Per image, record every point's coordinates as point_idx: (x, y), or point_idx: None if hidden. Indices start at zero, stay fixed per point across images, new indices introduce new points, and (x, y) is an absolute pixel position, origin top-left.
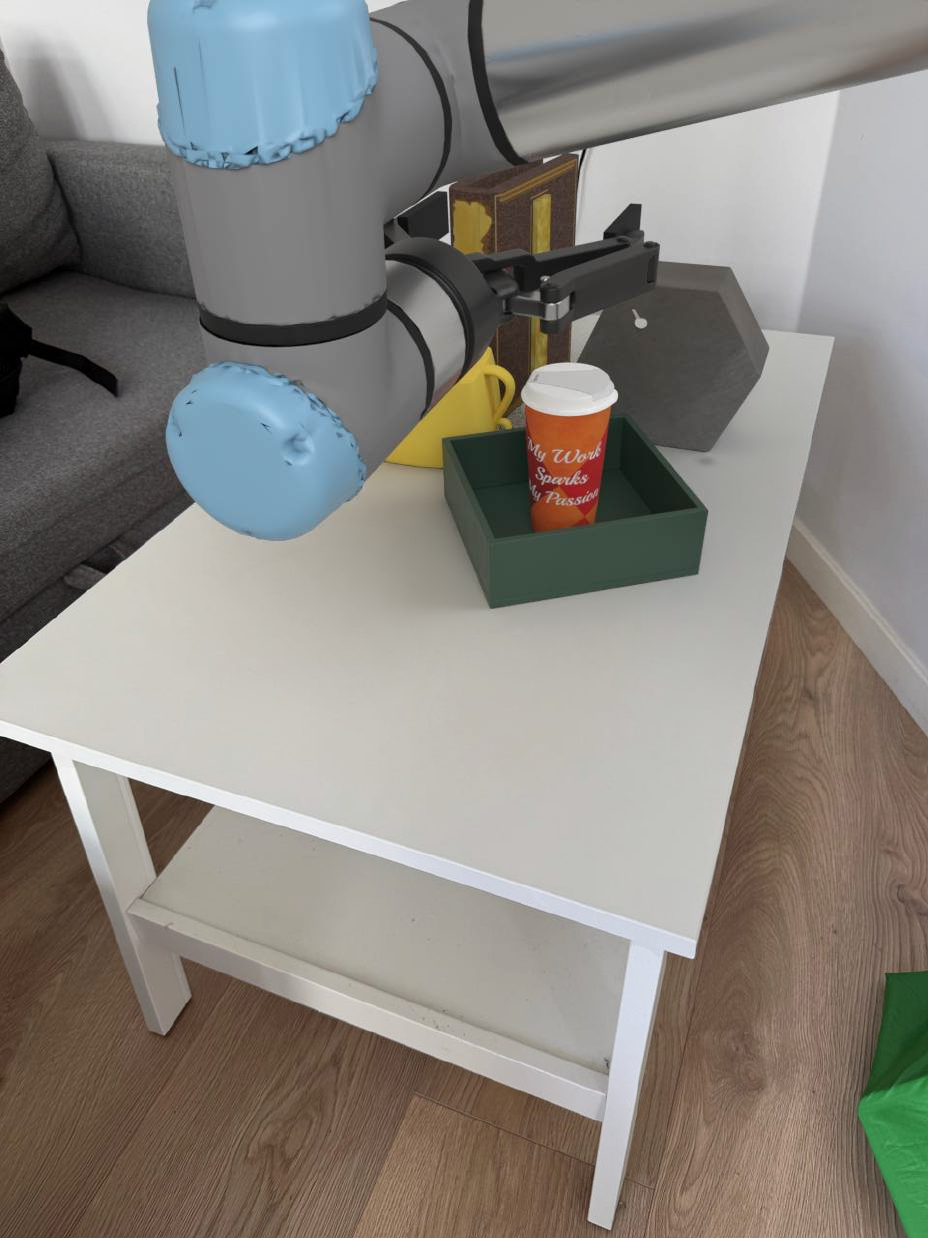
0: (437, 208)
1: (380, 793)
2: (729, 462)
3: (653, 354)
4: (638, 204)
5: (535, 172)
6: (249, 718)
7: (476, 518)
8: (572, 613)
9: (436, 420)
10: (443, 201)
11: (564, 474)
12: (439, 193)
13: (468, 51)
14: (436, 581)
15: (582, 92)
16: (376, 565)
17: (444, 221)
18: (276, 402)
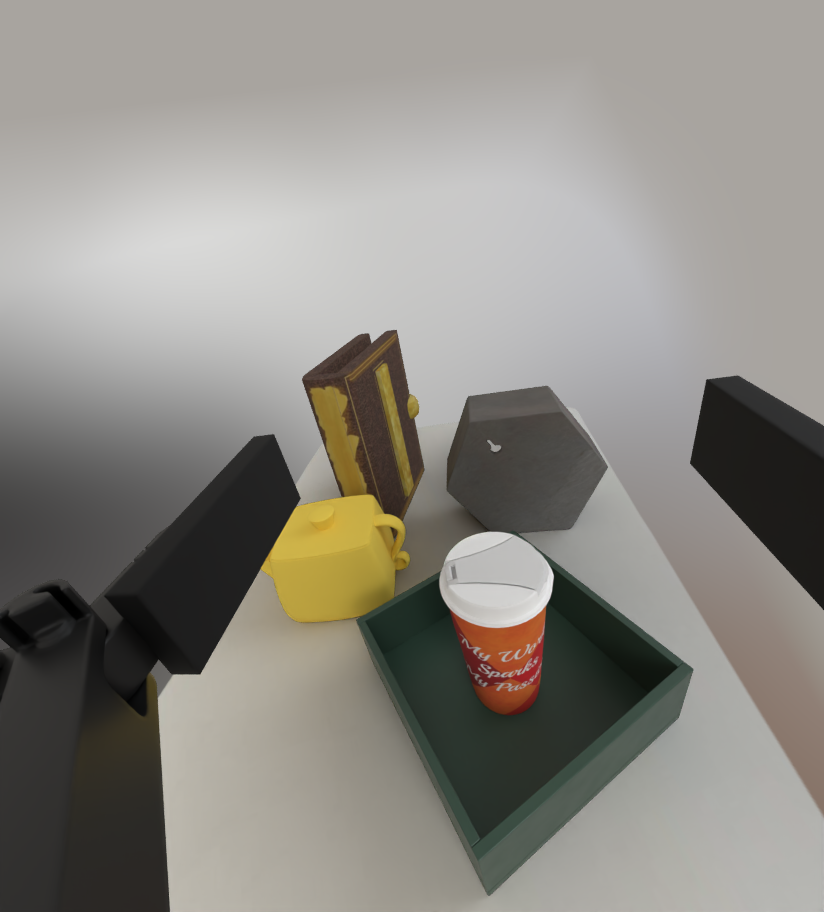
0: (257, 481)
1: None
2: (593, 535)
3: (512, 469)
4: (733, 378)
5: (370, 350)
6: None
7: (436, 780)
8: (592, 866)
9: (344, 585)
10: (269, 458)
11: (515, 668)
12: (257, 444)
13: None
14: (401, 842)
15: None
16: (322, 828)
17: (284, 490)
18: None
